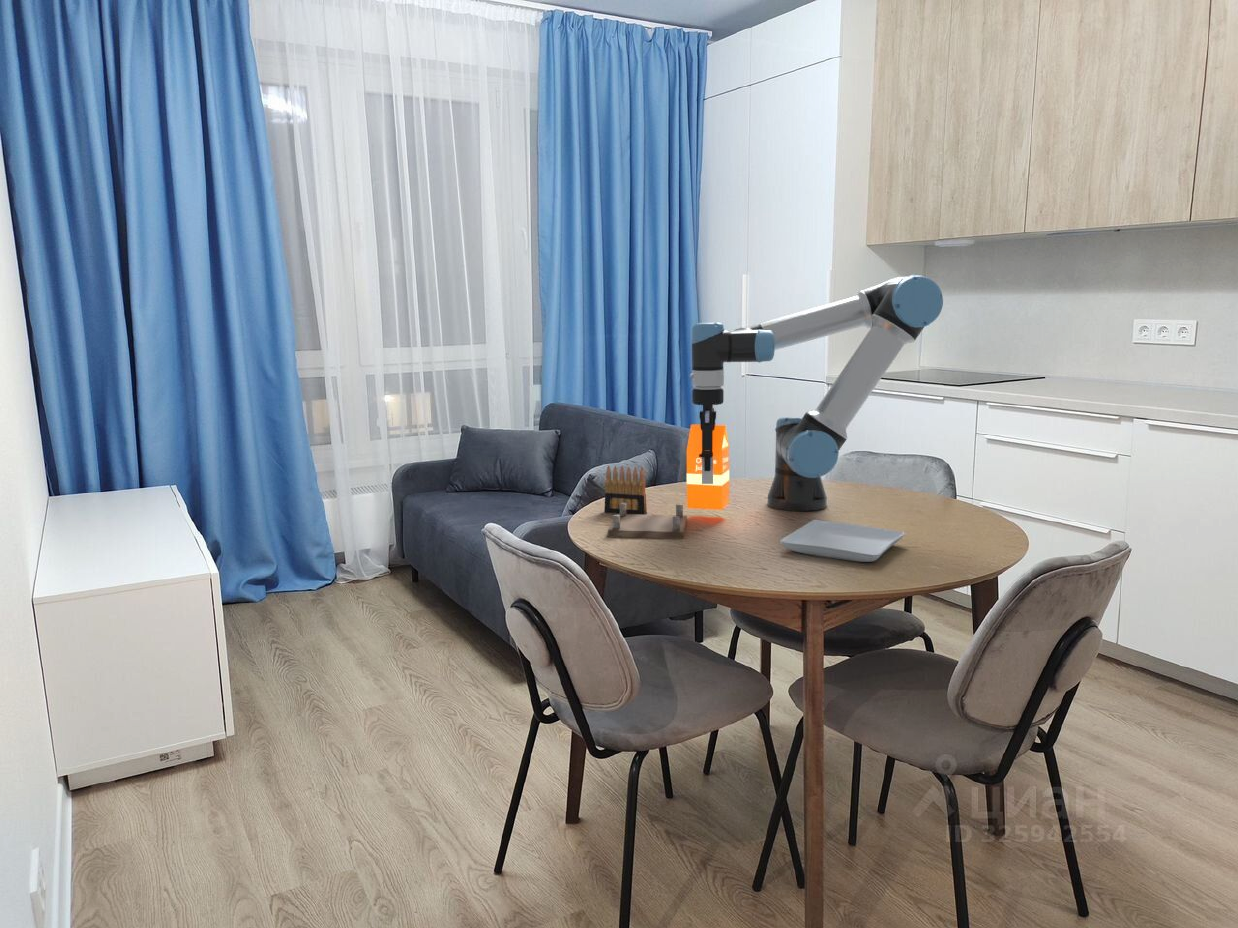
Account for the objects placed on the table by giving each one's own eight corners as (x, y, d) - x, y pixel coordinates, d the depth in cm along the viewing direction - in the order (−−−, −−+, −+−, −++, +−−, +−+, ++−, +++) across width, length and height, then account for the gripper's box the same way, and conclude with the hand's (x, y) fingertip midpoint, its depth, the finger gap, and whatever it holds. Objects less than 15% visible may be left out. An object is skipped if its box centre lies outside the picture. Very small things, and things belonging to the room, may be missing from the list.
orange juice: (722, 510, 218) (721, 427, 214) (686, 508, 221) (685, 426, 217) (729, 503, 225) (729, 423, 222) (695, 501, 228) (694, 422, 225)
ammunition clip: (646, 513, 228) (646, 466, 226) (644, 515, 226) (644, 468, 224) (606, 511, 231) (606, 464, 229) (604, 512, 230) (603, 465, 227)
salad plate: (877, 570, 180) (878, 553, 180) (777, 555, 191) (777, 539, 191) (906, 545, 198) (907, 530, 197) (812, 533, 209) (813, 519, 208)
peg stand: (686, 521, 219) (687, 503, 218) (683, 538, 204) (683, 518, 203) (617, 519, 221) (616, 501, 221) (608, 536, 206) (607, 517, 205)
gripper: (694, 383, 229) (694, 471, 233) (689, 392, 208) (690, 488, 212) (724, 383, 228) (724, 471, 232) (722, 391, 207) (722, 488, 211)
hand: (708, 479), depth 222 cm, fingers closed on orange juice, 9 cm apart
